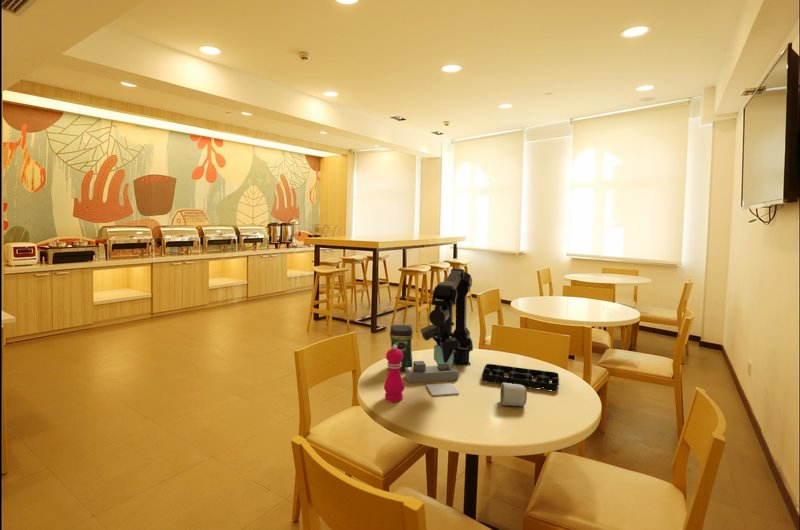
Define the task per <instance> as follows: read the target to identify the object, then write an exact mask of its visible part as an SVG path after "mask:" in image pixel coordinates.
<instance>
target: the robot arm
mask: <svg viewBox="0 0 800 530" xmlns="http://www.w3.org/2000/svg"><path fill="white" fill-rule="evenodd" d="M472 285H473V278H472V275H471V274H469V273H468V272H466V271H465V269H464V268H451V270H450V273H449V274H448V276H447V277H446V279H445V280H444V281H440V282H438V283H437V284H436V286H434V289H433V295H432V299H431V303H430V304H431V305H433V306H434V309H432V310H431V311H430V313H429V314H428V320H429V322H430V323H431V324H430V325H428V326H425V327H423V328H421V329H420V333H421V335H422V338H423V340H424V341H429V340H431V339H432V340H433V341H434V342H435V344H436V345H439V347H440V348H441V349H442V351H443V359H444V363H447V362H448V360H449V358H450V356H451V354H452V352H453V364H454V365H455V366H465V365H466V366H467V365H468V366H469V365H471V362H470V352H472V351H473V350H474V345H473V340H472V338H471V332H470V331H469V328H468V327H467V299H468V298H467V296H468V295H467V294H469V291H470V290H471V287H472ZM453 306H455V323H454V321H453V313H454V311H453V308H454V307H453ZM454 325H455V329H454V330H453V326H454Z"/></svg>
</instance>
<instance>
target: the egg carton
mask: <svg viewBox="0 0 800 530" xmlns="http://www.w3.org/2000/svg"><path fill="white" fill-rule="evenodd" d="M490 372H491V374H490ZM504 373H508V374H507V375H508V376H505V374H504ZM481 376H482V381H483V380H484V381H483V382H485V381H487V382H486V383H490V382H495V381H496V382H497V383H498V384H499V383H511V384H512V383H513V384H519V385H523V386H525V387H528V386H529V387H531V388H530V389H532V388H541V387H544V388H543V390H544V389H546V390H552V391H555V392H557V391H558V388H559V387H558V386H560V376H559V373H558V372H556V371H548V370H540V369H532V368H525V367H524V368H523V367H517V366H511V365H510V366H509V365H501V364H494V363H493V364H492V363H487V364H485V366H484V368H483V370H482V374H481ZM532 376H533V377H532ZM534 377H537V378H536V381H535V380H533V378H534ZM549 379H552V382H549V381H550V380H549ZM496 382H495V383H496ZM529 387H528V388H529ZM541 389H542V388H541ZM546 390H545V391H546ZM556 390H557V391H556ZM552 391H551V392H552Z"/></svg>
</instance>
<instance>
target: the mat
mask: <svg viewBox="0 0 800 530" xmlns="http://www.w3.org/2000/svg"><path fill="white" fill-rule="evenodd" d="M425 387H426V388H427V389H428V392H429V394H431V395H430V396H432V397H444V396H445V395H446V396H458V395H460V392H459V391H458V389H457V388H456V387H455V386H454V384H453V383H452V382H449V383H448V382H447V383H445V382H444V383H434V384H425ZM446 396H445V397H446Z"/></svg>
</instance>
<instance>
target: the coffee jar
mask: <svg viewBox="0 0 800 530" xmlns="http://www.w3.org/2000/svg"><path fill="white" fill-rule="evenodd" d="M389 331H390V332H389V338H390V340H391V342H390V343H391V344H390V345H391V346H390V349H393V348H392V346H393V345H397V349H399V350H401V351H402V353H403V359H402V361H401V363H402V364H401V365H402V366H401V367H400V370H401V371H403V372H405V368H406V367H413V352H412V351H413V350H412V339H413V337H414V332H413V327H412V325H411V324H392V325H391V326H390V330H389ZM401 371H400V372H401Z"/></svg>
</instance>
